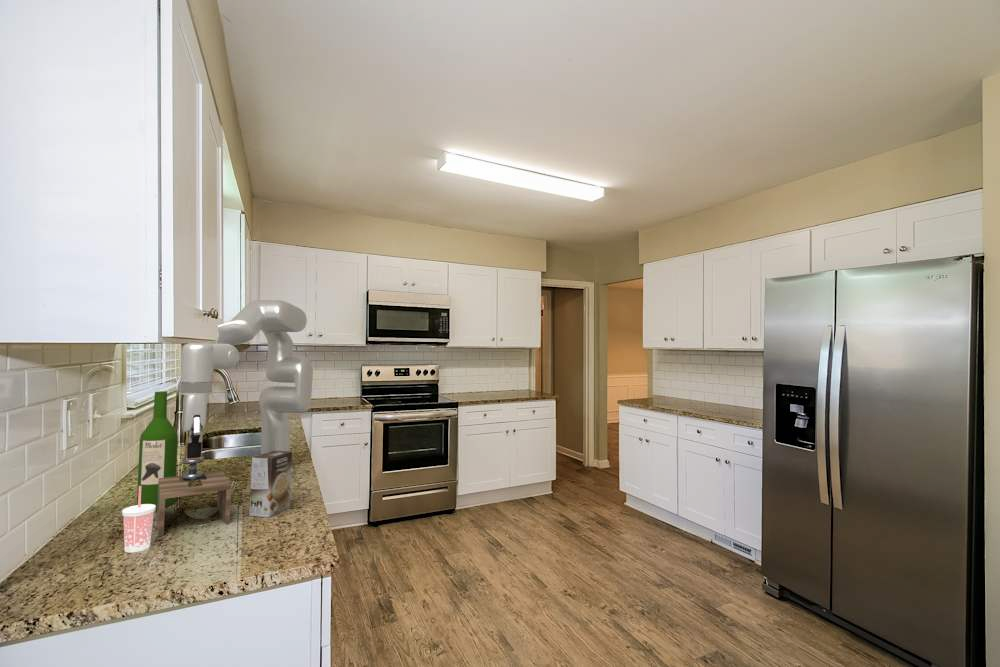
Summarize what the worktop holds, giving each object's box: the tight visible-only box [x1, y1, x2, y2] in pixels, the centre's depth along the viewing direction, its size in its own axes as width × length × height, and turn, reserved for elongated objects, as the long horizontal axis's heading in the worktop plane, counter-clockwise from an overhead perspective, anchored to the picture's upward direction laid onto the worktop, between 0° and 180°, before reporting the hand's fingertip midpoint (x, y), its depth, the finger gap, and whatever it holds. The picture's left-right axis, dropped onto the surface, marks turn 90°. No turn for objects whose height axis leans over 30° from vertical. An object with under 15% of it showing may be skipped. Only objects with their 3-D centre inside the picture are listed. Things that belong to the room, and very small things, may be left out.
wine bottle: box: [136, 391, 179, 511], centre depth 137 cm, size 9×9×32 cm
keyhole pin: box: [181, 434, 205, 482], centre depth 128 cm, size 5×5×12 cm
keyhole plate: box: [156, 470, 232, 537], centre depth 125 cm, size 17×15×10 cm
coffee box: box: [248, 450, 293, 519], centre depth 133 cm, size 9×6×16 cm
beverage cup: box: [121, 486, 156, 553], centre depth 107 cm, size 6×6×14 cm
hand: (193, 455), depth 128 cm, fingers closed on keyhole pin, 3 cm apart
